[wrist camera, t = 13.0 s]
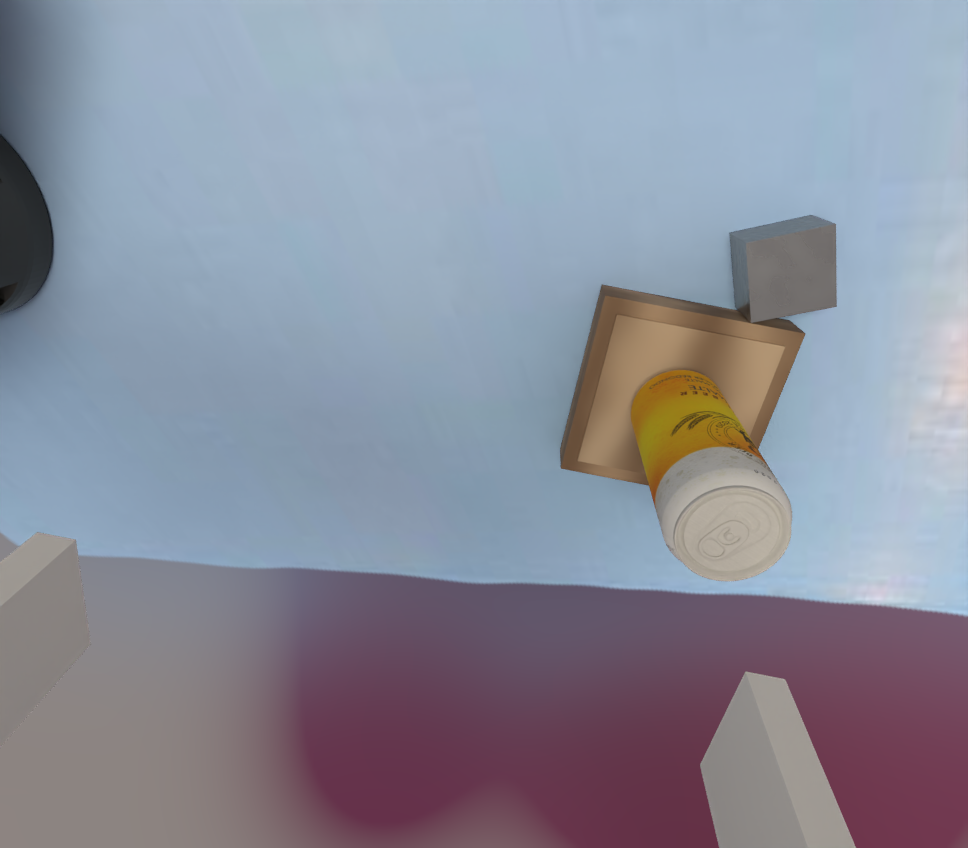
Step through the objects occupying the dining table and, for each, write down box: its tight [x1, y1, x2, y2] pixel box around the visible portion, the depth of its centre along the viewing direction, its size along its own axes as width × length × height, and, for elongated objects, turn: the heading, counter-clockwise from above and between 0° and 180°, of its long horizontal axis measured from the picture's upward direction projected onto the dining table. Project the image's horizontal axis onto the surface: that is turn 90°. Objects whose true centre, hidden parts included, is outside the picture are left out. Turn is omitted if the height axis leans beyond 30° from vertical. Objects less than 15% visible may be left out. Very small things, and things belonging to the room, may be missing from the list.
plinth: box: [560, 285, 805, 485], centre depth 45 cm, size 13×13×3 cm
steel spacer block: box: [730, 215, 837, 323], centre depth 40 cm, size 5×5×4 cm
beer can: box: [631, 370, 792, 581], centre depth 37 cm, size 6×6×15 cm
